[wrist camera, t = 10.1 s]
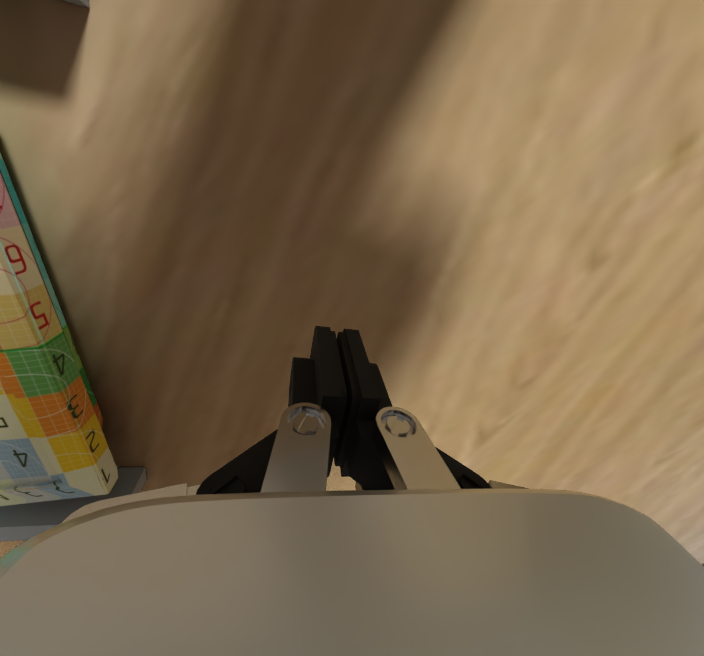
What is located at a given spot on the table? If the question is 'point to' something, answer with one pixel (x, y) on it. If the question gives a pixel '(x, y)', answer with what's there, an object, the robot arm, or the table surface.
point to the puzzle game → (42, 381)
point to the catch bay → (47, 514)
